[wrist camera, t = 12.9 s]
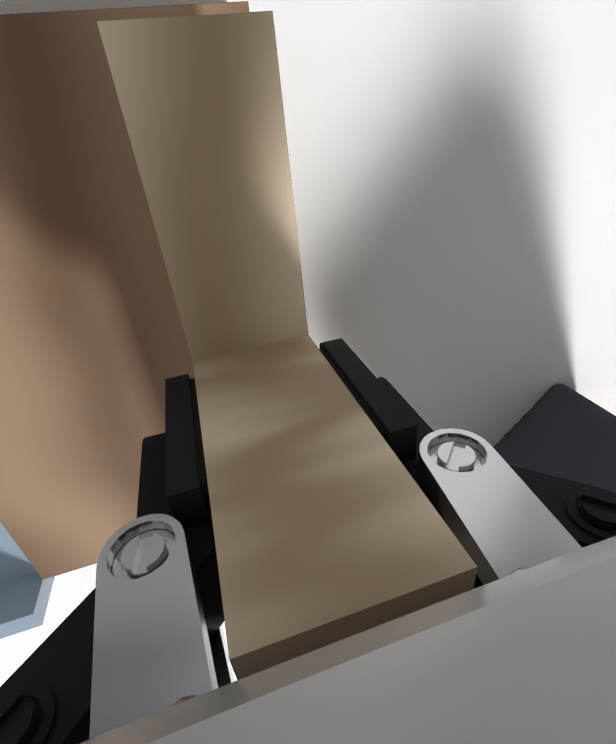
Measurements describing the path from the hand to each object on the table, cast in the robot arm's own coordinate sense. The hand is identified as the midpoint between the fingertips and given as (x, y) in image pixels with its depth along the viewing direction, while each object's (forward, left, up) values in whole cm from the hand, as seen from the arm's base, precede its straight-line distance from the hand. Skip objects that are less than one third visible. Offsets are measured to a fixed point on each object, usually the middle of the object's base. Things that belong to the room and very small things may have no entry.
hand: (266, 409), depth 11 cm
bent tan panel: (0, 0, -3) cm, 3 cm away
